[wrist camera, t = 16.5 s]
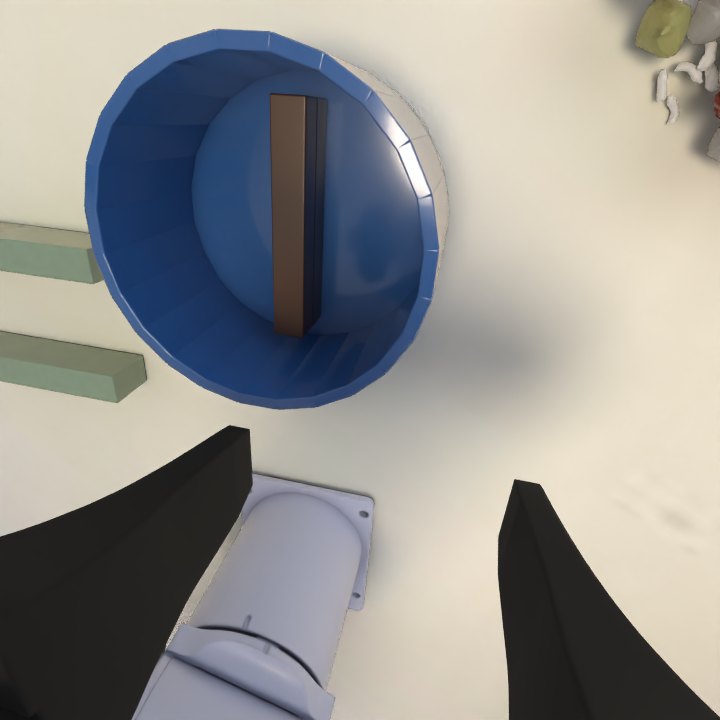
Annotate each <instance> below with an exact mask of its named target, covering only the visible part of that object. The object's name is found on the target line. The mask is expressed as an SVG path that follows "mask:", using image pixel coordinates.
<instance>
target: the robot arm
mask: <svg viewBox="0 0 720 720" xmlns="http://www.w3.org/2000/svg"><path fill="white" fill-rule="evenodd" d="M241 510H242V523H243V527H242V529H241V530H240V532H239V534H238V536H237V537H236V539H235V541H234V543H233V544H232V546H231V548H230V550H229V551H228V553H227V555H226V557H225V558H224V560H223V562H222V564H221V565H220V567H219V569H218V571H217V572H216V574H215V576H214V578H213V579H212V581H211V583H210V585H209V586H208V588H207V590H206V592H205V593H204V595H203V597H202V599H201V600H200V602H199V604H198V606H197V607H196V609H195V611H194V613H193V614H192V616H191V618H190V620H189V621H188V623H187V624H185V623H182V624H181V625H180V627H179V628H178V630H177V632H176V633H175V635H174V637H173V639H172V640H171V642H170V644H169V645H168V647H167V649H166V651H165V648H166V643H167V641H168V639H169V637H170V635H171V633H172V631H173V628H174V626H175V624H176V622H177V620H178V618H179V616H180V614H181V612H182V610H183V608H184V606H185V604H186V602H187V601H188V599H189V597H190V595H191V593H192V592H193V590H194V588H195V586H196V585H197V583H198V582H199V580H200V578H201V577H202V575H203V574H204V572H205V570H206V569H207V567H208V566H209V564H210V562H211V561H212V559H213V558H214V556H215V554H216V553H217V551H218V550H219V548H220V546H221V545H222V543H223V541H224V540H225V538H226V537H227V535H228V533H229V532H230V530H231V528H232V527H233V525H234V523H235V522H236V520H237V518H238V517H239V515H240V512H241ZM362 511H366V512H367V513H364V512H362ZM373 514H374V502H373V500H372V499H370V498H368V497H365V496H360V495H355V494H350V493H345V492H340V491H335V490H330V489H325V488H321V487H316V486H311V485H306V484H301V483H296V482H291V481H286V480H281V479H277V478H272V477H267V476H262V475H257V474H252V462H251V445H250V429H246V428H241V427H236V426H231V425H229V426H227V427H226V428H224V429H222V430H221V431H219V432H217V433H216V434H214V435H213V436H211V437H209V438H208V439H206V440H205V441H203V442H202V443H200V444H198V445H197V446H195V447H194V448H192V449H191V450H189V451H187V452H186V453H184V454H182V455H181V456H179V457H178V458H176V459H174V460H173V461H171V462H169V463H168V464H166V465H164V466H163V467H161V468H159V469H157V470H156V471H154V472H152V473H150V474H148V475H147V476H145V477H143V478H141V479H139V480H138V481H136V482H134V483H132V484H130V485H128V486H127V487H125V488H123V489H121V490H119V491H117V492H115V493H112V494H110V495H108V496H106V497H104V498H102V499H100V500H97V501H95V502H93V503H91V504H88V505H86V506H84V507H81V508H79V509H76V510H74V511H71V512H69V513H66V514H64V515H61V516H59V517H56V518H54V519H51V520H49V521H46V522H43V523H40V524H38V525H35V526H32V527H29V528H26V529H23V530H20V531H17V532H14V533H11V534H7V535H4V536H1V537H0V720H330V718H331V714H332V710H333V705H334V701H335V696H334V695H332V694H330V693H328V692H327V691H326V690H327V686H328V682H329V678H330V674H331V670H332V666H333V663H334V659H335V655H336V651H337V647H338V643H339V640H340V636H341V632H342V628H343V624H344V620H345V616H346V613H347V609H352V610H361V609H362V608H363V605H364V598H365V588H366V579H367V570H368V560H369V551H370V542H371V532H372V523H373ZM498 580H499V591H500V601H501V610H502V620H503V629H504V639H505V648H506V658H507V669H508V684H509V720H720V717H719V716H718V715H717V714H716V713H715V712H714V711H713V710H712V709H711V708H710V707H709V706H708V705H706V704H705V703H704V702H703V701H702V700H701V699H700V698H699V697H698V696H697V695H696V694H695V693H694V692H693V691H692V690H691V689H690V688H689V687H688V686H687V685H686V684H685V683H684V682H683V681H682V679H681V678H680V677H679V676H678V675H677V674H676V673H675V672H674V671H673V670H672V669H671V668H670V667H669V665H668V664H667V663H666V662H665V661H664V660H663V659H662V658H661V657H660V656H659V655H658V654H657V653H656V652H655V650H654V649H653V648H652V647H651V646H650V645H649V644H648V643H647V641H646V640H645V639H644V638H643V637H642V636H641V635H640V633H639V632H638V631H637V630H636V629H635V627H634V626H633V625H632V624H631V622H630V621H629V620H628V619H627V618H626V616H625V615H624V614H623V613H622V611H621V610H620V609H619V607H618V606H617V605H616V604H615V602H614V601H613V600H612V598H611V597H610V596H609V594H608V593H607V591H606V590H605V589H604V587H603V586H602V584H601V583H600V582H599V580H598V579H597V577H596V576H595V575H594V573H593V572H592V570H591V569H590V567H589V566H588V564H587V563H586V561H585V560H584V558H583V557H582V555H581V553H580V552H579V550H578V549H577V547H576V545H575V544H574V542H573V541H572V539H571V538H570V536H569V534H568V533H567V531H566V529H565V528H564V526H563V524H562V522H561V521H560V519H559V517H558V515H557V514H556V512H555V510H554V508H553V507H552V505H551V503H550V501H549V499H548V497H547V495H546V494H545V492H544V490H543V488H542V487H541V485H540V484H537V483H532V482H527V481H521V480H516V479H514V483H513V486H512V490H511V494H510V497H509V501H508V504H507V508H506V511H505V515H504V519H503V522H502V526H501V529H500V533H499V537H498ZM164 652H165V653H164Z"/></svg>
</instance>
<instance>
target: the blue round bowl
mask: <svg viewBox="0 0 720 720" xmlns="http://www.w3.org/2000/svg"><path fill="white" fill-rule="evenodd" d="M270 93H281V94H295V95H307V96H313V97H316V98H322V99H327V123H326V157H325V190H324V223H323V256H322V289H321V316H320V318H319V319H318V320H317V321H316V323H315V324H314V325H313V326H312V327H311V328H310V330H309V331H308V332H307V334H306V335H305V336H304V337H303V338H300V337H293V336H287V335H280V334H275V333H274V301H273V250H272V199H271V148H270V97H269V95H270ZM86 160H87V161H86V173H85V203H84V207H85V214H86V219H87V224H88V229H89V234H90V239H91V244H92V249H93V253H94V257H95V259H96V261H97V264H98V266H99V268H100V271H101V273H102V275H103V278H104V280H105V283H106V285H107V287H108V290H109V292H110V294H111V296H112V298H113V299H114V301H115V302H116V304H117V305H118V307H119V308H120V310H121V311H122V313H123V314H124V316H125V317H126V319H127V320H128V322H129V323H130V325H131V326H132V328H133V329H134V331H135V332H136V333H137V334H138V335H139V336H140V337H141V338H142V339H143V340H144V341H145V342H146V343H147V344H148V345H149V346H150V347H151V348H152V349H153V350H154V351H155V352H156V353H157V354H158V355H159V356H160V357H161V358H162V359H163V360H164V361H165V362H166V363H168V365H169V366H171V367H172V368H174V369H175V370H177V371H178V372H180V373H181V374H183V375H184V376H186V377H187V378H189V379H190V380H191V381H193V382H194V383H196V384H197V385H199V386H201V387H202V388H204V389H207V390H209V391H212V392H214V393H217V394H219V395H221V396H224V397H226V398H229V399H231V400H233V401H236V402H239V403H243V404H249V405H254V406H260V407H265V408H271V409H278V410H280V409H298V408H315V407H319V406H322V405H325V404H328V403H331V402H334V401H338V400H341V399H344V398H347V397H350V396H352V395H355V394H356V393H358V392H359V391H361V390H362V389H364V388H365V387H367V386H368V385H370V384H371V383H373V382H374V381H376V380H377V379H379V378H380V377H382V376H383V375H385V374H386V373H387V372H388V371H389V370H390V369H391V367H392V366H393V365H394V364H395V363H396V362H397V360H398V359H399V358H400V357H401V356H402V354H403V353H404V352H405V351H406V350H407V349H408V347H409V346H410V345H411V344H412V343H413V340H414V339H415V337H416V335H417V333H418V331H419V328H420V326H421V324H422V322H423V319H424V317H425V315H426V313H427V310H428V308H429V306H430V304H431V301H432V298H433V294H434V290H435V285H436V281H437V277H438V273H439V268H440V264H441V260H442V256H443V252H444V245H445V238H446V233H447V225H448V218H449V215H448V214H449V210H448V192H447V187H446V181H445V175H444V171H443V168H442V165H441V161H440V158H439V155H438V152H437V150H436V148H435V146H434V144H433V142H432V139H431V137H430V135H429V133H428V132H427V130H426V129H425V127H424V125H423V124H422V122H421V121H420V119H419V118H418V116H417V115H416V114H415V113H414V111H413V110H412V109H411V108H410V107H409V106H408V104H407V103H406V102H405V100H403V98H401V97H400V96H399V95H398V94H396V93H395V92H394V91H393V90H392V89H391V88H390V87H388V86H387V85H385V84H384V83H382V82H381V81H380V80H378V79H377V78H376V77H374V76H373V75H372V74H370V73H369V72H367V71H364V70H362V69H360V68H358V67H356V66H354V65H351V64H349V63H347V62H345V61H343V60H341V59H338V58H336V57H334V56H332V55H330V54H328V53H325V52H323V51H320V50H318V49H315V48H313V47H310V46H308V45H305V44H302V43H300V42H297V41H295V40H292V39H289V38H287V37H284V36H282V35H279V34H277V33H274V32H270V31H253V30H232V29H216V30H215V29H213V30H210V31H207V32H203V33H200V34H197V35H194V36H190V37H187V38H184V39H181V40H177V41H174V42H171V43H168V44H167V45H164V46H163V47H162V48H160V49H159V50H158V51H156V52H155V53H154V54H153V55H151V56H150V57H149V58H147V59H146V60H145V61H143V62H142V63H141V64H139V65H138V66H137V67H135V68H134V69H133V70H131V71H130V72H129V73H128V74H127V75H126V76H125V77H124V79H123V80H122V82H121V83H120V85H119V86H118V88H117V89H116V91H115V92H114V94H113V95H112V97H111V98H110V100H109V101H108V103H107V104H106V106H105V107H104V109H103V110H102V112H101V115H100V116H99V118H98V122H97V125H96V128H95V132H94V135H93V138H92V142H91V145H90V148H89V152H88V155H87V158H86Z"/></svg>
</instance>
